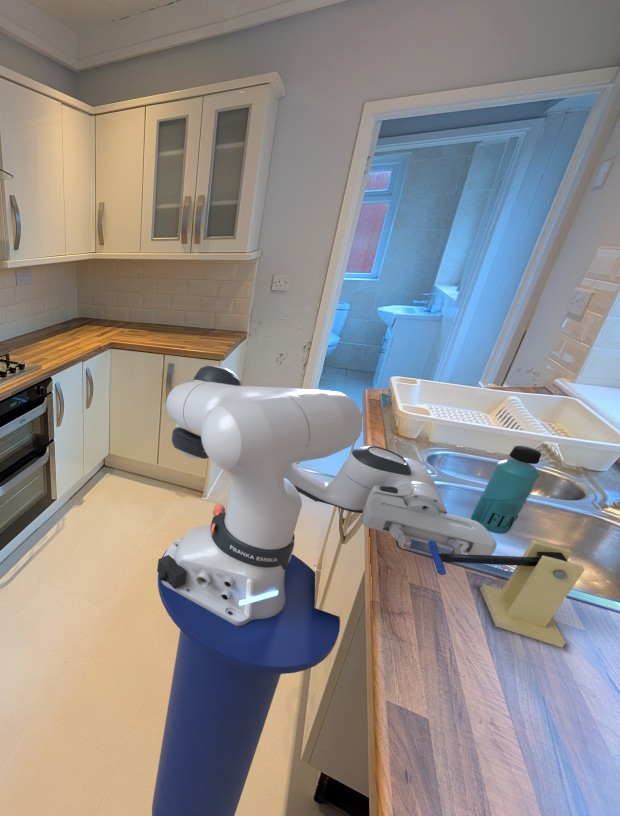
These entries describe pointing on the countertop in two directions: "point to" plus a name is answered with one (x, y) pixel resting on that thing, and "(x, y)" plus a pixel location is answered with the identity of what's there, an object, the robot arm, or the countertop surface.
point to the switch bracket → (534, 595)
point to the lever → (486, 558)
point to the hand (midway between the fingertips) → (431, 551)
